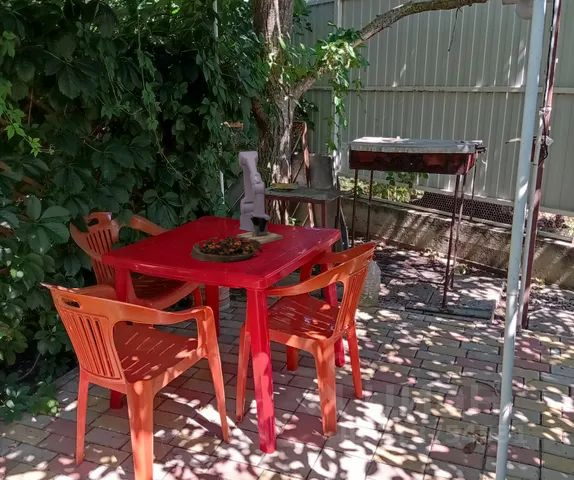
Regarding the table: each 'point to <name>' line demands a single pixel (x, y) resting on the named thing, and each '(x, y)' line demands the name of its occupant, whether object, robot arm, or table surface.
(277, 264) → the table surface
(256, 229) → the jaw block
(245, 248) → the food dish
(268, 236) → the base plate
